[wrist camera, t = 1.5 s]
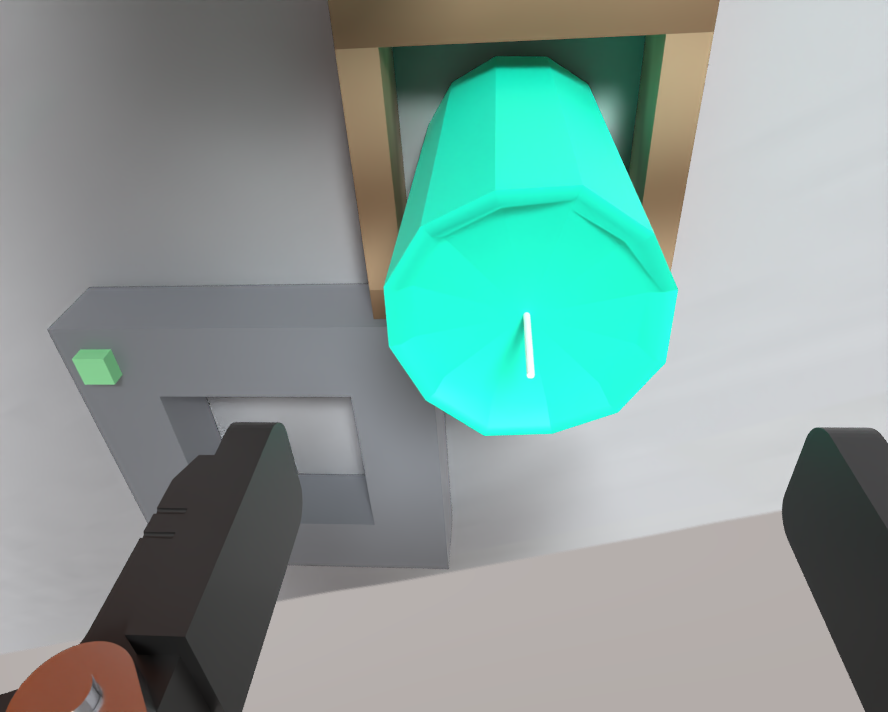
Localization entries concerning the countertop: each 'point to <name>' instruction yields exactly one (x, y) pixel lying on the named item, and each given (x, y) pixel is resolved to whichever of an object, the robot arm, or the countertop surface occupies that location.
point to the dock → (266, 375)
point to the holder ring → (517, 19)
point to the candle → (526, 258)
